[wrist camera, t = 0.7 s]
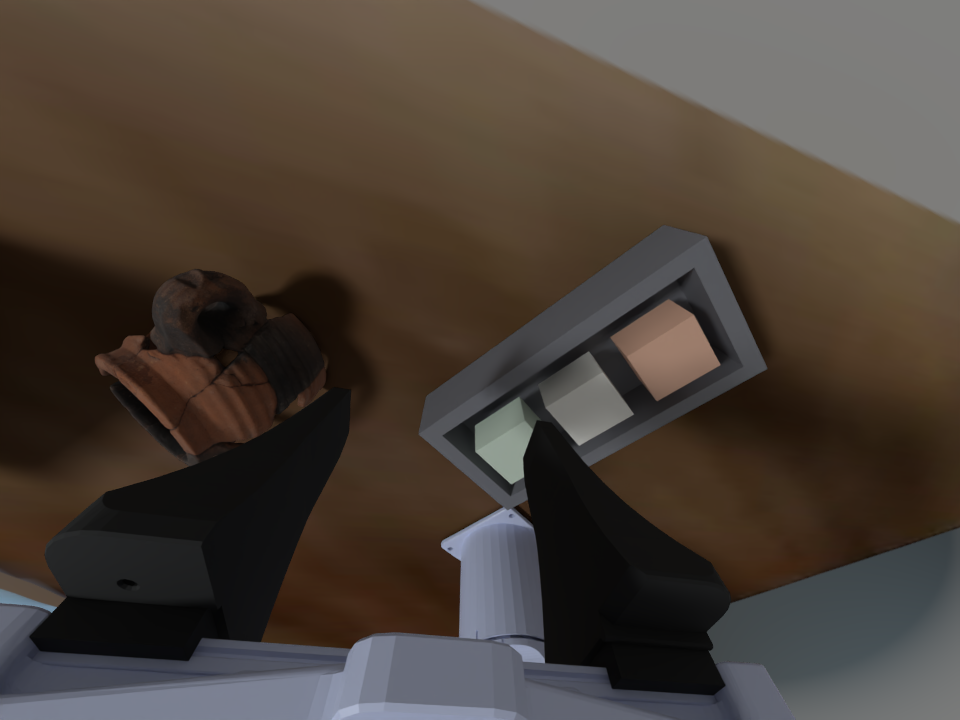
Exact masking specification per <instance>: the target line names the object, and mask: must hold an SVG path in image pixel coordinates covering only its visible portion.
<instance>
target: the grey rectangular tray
mask: <svg viewBox="0 0 960 720" xmlns="http://www.w3.org/2000/svg"><path fill="white" fill-rule="evenodd" d="M668 299H669V300H671V301H673V302H674V303H676V304H677V305H679V306H681V307H682V308H684V309H685V310H687V311H689V312H690V313H692V314H693V315H694V316H695V318H696V320H697V322H698V324H699V325H700V327H701V329H702V331H703V333H704V335H705V337H706V339H707V340H708V342H709V344H710V346H711V348H712V350H713V352H714V354H715V355H716V357H717V359H718V361H719V363H720V366H718V367H716V368H715V369H713V370H711V371H709V372H708V373H706V374H704V375H702V376H701V377H699V378H697V379H695V380H694V381H692V382H690V383H688V384H687V385H685V386H683V387H681V388H680V389H678V390H676V391H674V392H673V393H671V394H669V395H667V396H666V397H664V398H662V399H660V400H658V401H656V400H655V398H654V397H653V396H652V395H651V393H650V392H649V391H648V390H647V389H646V387H645V386H644V385H643V384H642V382H641V381H640V380H639V379H638V377H637V376H636V374H635V373H634V372H633V370H632V369H631V367H630V366H629V364H628V363H627V361H626V360H625V358H624V357H623V355H622V354H621V353H620V351H619V350H618V348H617V347H616V345H615V344H614V342H613V341H612V339H611V338H610V337H611V336H613V335H614V334H616V333H617V332H619V331H621V330H622V329H624V328H625V327H627V326H628V325H630V324H631V323H633V322H634V321H636V320H637V319H639V318H640V317H642V316H643V315H645V314H647V313H648V312H650V311H651V310H653V309H654V308H656V307H657V306H659V305H660V304H662V303H663V302H665V301H666V300H668ZM588 351H589V352H590V353H591V355H592V356H593V357H594V359H595V360H596V362H597V363H598V364H599V366H600V367H601V368H602V370H603V371H604V372H605V374H606V375H607V377H608V378H609V379H610V381H611V382H612V383H613V385H614V386H615V387H616V389H617V390H618V392H619V393H620V395H621V396H622V397H623V399H624V400H625V402H626V403H627V405H628V406H629V408H630V409H631V411H632V412H633V414H634V415H632V416H630V417H629V418H627V419H625V420H623V421H622V422H620V423H618V424H616V425H615V426H613V427H611V428H609V429H608V430H606V431H604V432H602V433H601V434H599V435H597V436H595V437H594V438H592V439H590V440H588V441H587V442H585V443H583V444H581V445H580V446H579V445H578V444H577V443H576V442H575V441H574V439H573V438H572V437H571V436H570V435H569V434H568V433H567V431H566V430H565V429H564V428H563V427H562V426H561V425H560V424H559V422H558V421H557V420H556V419H555V418H554V417H553V416H552V415H551V413H550V412H549V411H548V410H547V409H546V408H545V405H544V402H543V398H542V395H541V392H540V389H539V386H538V384H539V383H541V382H543V381H544V380H546V379H547V378H549V377H550V376H552V375H553V374H555V373H556V372H558V371H559V370H561V369H562V368H564V367H565V366H567V365H569V364H570V363H572V362H573V361H575V360H576V359H578V358H579V357H581V356H582V355H584V354H585V353H587V352H588ZM766 369H767V366H766V364H765V362H764V360H763V358H762V356H761V353H760V351H759V349H758V347H757V345H756V342H755V340H754V338H753V336H752V334H751V332H750V329H749V327H748V325H747V323H746V321H745V318H744V316H743V314H742V312H741V310H740V308H739V305H738V303H737V301H736V299H735V297H734V294H733V292H732V290H731V288H730V286H729V283H728V281H727V279H726V277H725V275H724V273H723V270H722V268H721V266H720V264H719V262H718V259H717V257H716V255H715V253H714V251H713V249H712V246H711V244H710V242H709V240H708V238H707V236H704V235H700V234H696V233H692V232H688V231H684V230H681V229H677V228H673V227H669V226H665V225H663V226H662V227H660V228H659V229H657V230H656V231H655V232H653V233H652V234H650V235H649V236H648V237H646V238H645V239H644V240H642V241H641V242H639V243H638V244H637V245H635V246H634V247H632V248H631V249H630V250H628V251H627V252H626V253H624V254H623V255H621V256H620V257H619V258H617V259H616V260H614V261H613V262H612V263H610V264H609V265H608V266H606V267H605V268H603V269H602V270H601V271H599V272H598V273H596V274H595V275H594V276H592V277H591V278H590V279H588V280H587V281H585V282H584V283H583V284H581V285H580V286H578V287H577V288H576V289H574V290H573V291H571V292H570V293H569V294H567V295H566V296H565V297H563V298H562V299H560V300H559V301H558V302H556V303H555V304H553V305H552V306H551V307H549V308H548V309H547V310H545V311H544V312H542V313H541V314H540V315H538V316H537V317H535V318H534V319H533V320H531V321H530V322H529V323H527V324H526V325H524V326H523V327H522V328H520V329H519V330H517V331H516V332H515V333H513V334H512V335H511V336H509V337H508V338H506V339H505V340H504V341H502V342H501V343H499V344H498V345H497V346H495V347H494V348H493V349H491V350H490V351H488V352H487V353H486V354H484V355H483V356H481V357H480V358H479V359H477V360H476V361H474V362H473V363H472V364H470V365H469V366H468V367H466V368H465V369H463V370H462V371H461V372H459V373H458V374H456V375H455V376H454V377H452V378H451V379H450V380H448V381H447V382H445V383H444V384H443V385H441V386H440V387H438V388H437V389H436V390H434V391H433V392H432V393H430V394H429V395H427V396H426V400H425V405H424V410H423V415H422V420H421V424H420V429H419V435H420V436H421V437H423V438H424V439H425V440H426V441H427V442H428V443H430V444H431V445H432V446H433V447H434V448H435V449H437V450H438V451H439V452H440V453H441V454H442V455H444V456H445V457H446V458H447V459H448V460H449V461H451V462H452V463H453V464H454V465H455V466H456V467H458V468H459V469H460V470H461V471H462V472H463V473H464V474H466V475H467V476H468V477H469V478H470V479H471V480H473V481H474V482H475V483H476V484H477V485H478V486H480V487H481V488H482V489H483V490H484V491H485V492H487V493H488V494H489V495H490V496H491V497H492V498H494V499H495V500H496V501H497V502H498V503H499V504H501V505H502V506H503V507H504V508H505V509H506V510H509V509H511V508H513V507H515V506H517V505H519V504H520V503H522V502H524V501H526V500H528V498H527V493H526V488H525V482H524V477H523V478H522V479H520V480H518V481H516V482H515V483H513V484H510V483H509V482H508V481H507V480H506V479H505V478H504V477H503V476H502V475H500V474H499V473H498V472H497V471H496V470H495V469H494V468H493V467H492V466H491V465H489V464H488V463H487V462H486V461H485V460H484V459H483V458H482V457H481V456H480V455H479V454H477V453H476V452H475V425H477V424H478V423H480V422H481V421H483V420H484V419H486V418H487V417H489V416H490V415H492V414H494V413H495V412H497V411H498V410H500V409H501V408H503V407H504V406H506V405H507V404H509V403H510V402H512V401H513V400H515V399H516V398H518V397H520V398H521V399H522V400H523V401H524V402H525V403H526V404H527V405H528V406H529V407H530V409H531V410H532V411H533V412H534V413H535V414H536V415H537V416H538V417H539V418H540V420H541V421H546V422H552V423H553V425H554V426H555V427H556V428H557V429H558V431H559V432H560V433H561V434H562V436H563V437H564V438H565V439H566V440H567V442H568V443H569V444H570V445H571V447H572V448H573V449H574V450H575V452H576V453H577V454H578V455H579V456H580V457H581V459H582V460H583V461H584V462H585V463H586V464H587V465H588V466H590V465H592V464H594V463H596V462H597V461H599V460H601V459H603V458H605V457H607V456H609V455H610V454H612V453H614V452H616V451H618V450H620V449H621V448H623V447H625V446H627V445H629V444H631V443H632V442H634V441H636V440H638V439H640V438H642V437H643V436H645V435H647V434H649V433H651V432H653V431H654V430H656V429H658V428H660V427H662V426H664V425H665V424H667V423H669V422H671V421H673V420H675V419H676V418H678V417H680V416H682V415H684V414H686V413H687V412H689V411H691V410H693V409H695V408H697V407H698V406H700V405H702V404H704V403H706V402H708V401H709V400H711V399H713V398H715V397H717V396H719V395H720V394H722V393H724V392H726V391H728V390H730V389H731V388H733V387H735V386H737V385H739V384H741V383H742V382H744V381H746V380H748V379H750V378H752V377H753V376H755V375H757V374H759V373H761V372H763V371H764V370H766Z"/></svg>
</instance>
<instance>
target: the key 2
mask: <svg viewBox="0 0 960 720" xmlns="http://www.w3.org/2000/svg"><path fill="white" fill-rule="evenodd" d="M610 338H611V339H612V341H613V342H614V344H615V345H616V347H617V348H618V350H619V351H620V353H621V354H622V355H623V357H624V358H625V360H626V361H627V363H628V364H629V366H630V367H631V369H632V370H633V372H634V373H635V374H636V376H637V377H638V379H639V380H640V381H641V382H642V384H643V385H644V386H645V387H646V389H647V390H648V391H649V392H650V393H651V395H652V396H653V397H654V398H655V400H656V401H658V400H660V399H662V398H664V397H666V396H667V395H669V394H671V393H673V392H674V391H676V390H678V389H680V388H681V387H683V386H685V385H687V384H688V383H690V382H692V381H694V380H695V379H697V378H699V377H701V376H702V375H704V374H706V373H708V372H709V371H711V370H713V369H715V368H716V367H718V366H720V363H719V361H718V359H717V357H716V355H715V354H714V352H713V350H712V348H711V346H710V344H709V342H708V340H707V339H706V337H705V335H704V333H703V331H702V329H701V327H700V325H699V324H698V322H697V320H696V318H695V316H694V315H693V314H692V313H690V312H689V311H687V310H685V309H684V308H682V307H681V306H679V305H677V304H676V303H674V302H673V301H671V300H669V299H668V300H666V301H665V302H663V303H662V304H660V305H659V306H657V307H656V308H654V309H653V310H651V311H650V312H648V313H647V314H645V315H643V316H642V317H640V318H639V319H637V320H636V321H634V322H633V323H631V324H630V325H628V326H627V327H625V328H624V329H622V330H621V331H619V332H617V333H616V334H614V335H613V336H611V337H610Z"/></svg>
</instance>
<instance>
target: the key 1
mask: <svg viewBox="0 0 960 720" xmlns="http://www.w3.org/2000/svg"><path fill="white" fill-rule="evenodd" d="M537 420H540V418H539V417H538V416H537V415H536V414H535V413H534V412H533V411H532V410H531V409H530V407H529V406H528V405H527V404H526V403H525V402H524V401H523V400H522V399H521V398H520V397H518V398H516V399H515V400H513V401H512V402H510V403H509V404H507V405H506V406H504V407H503V408H501V409H500V410H498V411H497V412H495V413H494V414H492V415H490V416H489V417H487V418H486V419H484V420H483V421H481V422H480V423H478V424H477V425H475V452H476V453H477V454H479V455H480V456H481V457H482V458H483V459H484V460H485V461H486V462H487V463H488V464H489V465H491V466H492V467H493V468H494V469H495V470H496V471H497V472H498V473H499V474H500V475H502V476H503V477H504V478H505V479H506V480H507V481H508V482H509V483H510V484H513V483H515V482H516V481H518V480H520V479H522V478H523V477H524V470H523V456H524V454H525V451H526V448H527V445H528V443H529V440H530V437H531V434H532V432H533V429H534V426H535V424H536V421H537ZM540 421H541V420H540Z"/></svg>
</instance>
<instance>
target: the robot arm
mask: <svg viewBox="0 0 960 720" xmlns="http://www.w3.org/2000/svg"><path fill="white" fill-rule="evenodd" d="M350 400H351V390H349V389H343V388H336V387H334V388H332V389H331V390H329V391H328V392H326V393H325V394H323V395H322V396H321V397H319V398H318V399H317V400H315V401H314V402H312V403H311V404H309V405H308V406H307V407H305V408H304V409H302V410H301V411H299V412H298V413H296V414H295V415H293V416H292V417H290V418H289V419H287V420H285V421H284V422H282V423H281V424H279V425H277V426H276V427H274V428H272V429H271V430H269V431H267V432H265V433H264V434H262V435H260V436H258V437H256V438H254V439H252V440H250V441H248V442H246V443H244V444H242V445H240V446H238V447H236V448H233V449H231V450H229V451H226V452H224V453H222V454H219V455H217V456H215V457H212V458H210V459H208V460H205V461H203V462H200V463H197V464H195V465H192V466H189V467H187V468H184V469H181V470H178V471H175V472H172V473H169V474H166V475H163V476H160V477H157V478H154V479H150V480H147V481H143V482H140V483H136V484H133V485H129V486H126V487H123V488H119V489H115V490H112V491H108V492H106V493H105V494H103V495H102V496H101V497H100V498H98V499H97V500H96V501H95V502H94V503H92V504H91V505H90V506H89V507H88V508H87V509H85V510H84V511H83V512H82V513H81V514H80V515H78V516H77V517H76V518H75V519H74V520H73V521H72V522H70V523H69V524H68V525H67V526H66V527H65V528H64V529H62V530H61V531H60V532H59V533H58V534H57V535H56V536H54V537H53V538H52V539H51V540H50V541H49V543H48V544H47V545H46V550H45V559H46V561H47V564H48V567H49V568H50V570H51V572H52V573H53V575H54V576H55V578H56V580H57V581H58V583H59V585H60V586H61V588H62V589H63V591H64V593H65V594H66V596H67V598H66V599H65V600H64V601H63V602H62V603H61V604H60V605H59V606H58V607H57V608H56V609H55V610H54V611H53V612H52V613H51V612H50V611H48V610H45V609H43V608H40V607H35V606H27V605H15V604H2V603H0V720H796V719H795V717H794V716H793V714H792V712H791V711H790V709H789V707H788V706H787V704H786V702H785V701H784V699H783V698H782V696H781V694H780V692H779V691H778V689H777V688H776V686H775V684H774V682H773V681H772V679H771V677H770V676H769V674H768V672H767V671H766V669H765V667H764V666H763V665H761V664H757V663H744V662H731V661H729V662H720V663H717V664H715V663H714V661H713V659H712V657H711V655H710V653H709V651H710V650H712V649H713V644H712V642H711V640H710V638H709V636H708V634H707V631H708V630H709V629H710V628H711V627H712V626H713V625H714V624H715V623H716V622H717V621H718V620H719V619H720V618H721V617H722V616H723V615H724V614H725V613H726V611H727V610H728V608H729V605H730V601H731V597H730V593H729V591H728V590H727V588H726V586H725V585H724V583H723V581H722V580H721V578H720V577H719V575H718V573H717V572H716V570H715V569H714V567H713V565H712V564H711V562H709V561H707V560H706V559H704V558H703V557H701V556H699V555H698V554H696V553H694V552H693V551H691V550H690V549H688V548H686V547H685V546H683V545H681V544H680V543H678V542H677V541H675V540H674V539H672V538H671V537H669V536H668V535H667V534H665V533H664V532H662V531H661V530H659V529H658V528H657V527H655V526H654V525H653V524H651V523H650V522H649V521H647V520H646V519H645V518H643V517H642V516H641V515H640V514H638V513H637V512H636V511H635V510H633V509H632V508H631V507H630V506H629V505H627V504H626V503H625V502H624V501H623V500H622V499H620V498H619V497H618V496H617V495H616V494H615V493H614V492H613V491H612V490H611V489H610V488H609V487H608V486H607V485H606V484H605V483H603V482H602V480H601V479H600V478H599V477H598V476H597V475H596V474H595V473H594V472H593V471H592V470H591V469H590V468H589V467H588V465H587V464H586V463H585V462H584V461H583V460H582V459H581V457H580V456H579V455H578V454H577V453H576V452H575V450H574V449H573V448H572V447H571V445H570V444H569V443H568V442H567V440H566V439H565V438H564V437H563V436H562V434H561V433H560V432H559V431H558V429H557V428H556V427H555V426H554V425H553V423H552V422H546V421H540V420H537V421H536V424H535V426H534V429H533V432H532V434H531V437H530V440H529V443H528V445H527V448H526V451H525V454H524V456H523V470H524V482H525V488H526V493H527V498H528V503H529V508H530V513H531V518H532V522H533V524H531V523H530V522H529V521H528V520H527V519H526V518H525V517H523V516H522V515H521V514H520V513H519V512H518V511H517V510H515V509H514V508H511V509H509V510H506V509H505V508H504V507H503V508H501V509H499V510H497V511H495V512H494V513H492V514H490V515H488V516H486V517H485V518H483V519H481V520H479V521H477V522H475V523H474V524H472V525H470V526H468V527H466V528H465V529H463V530H461V531H459V532H457V533H456V534H454V535H452V536H450V537H448V538H446V539H445V540H443V541H442V543H441V547H442V548H443V549H444V550H446V551H447V552H449V553H450V554H452V555H453V556H454V557H456V558H457V559H459V560H460V561H461V586H460V626H459V637H446V636H434V635H421V634H409V633H377V634H373V635H371V636H368V637H366V638H363V639H360V640H359V641H358V642H356V643H355V644H354V646H353V647H352V649H345V648H331V647H317V646H304V645H290V644H276V643H263V642H261V640H262V637H263V634H264V631H265V628H266V625H267V623H268V620H269V617H270V614H271V611H272V609H273V606H274V603H275V601H276V598H277V595H278V593H279V590H280V587H281V584H282V582H283V579H284V576H285V574H286V571H287V569H288V566H289V564H290V561H291V558H292V556H293V553H294V551H295V548H296V546H297V543H298V541H299V538H300V536H301V534H302V531H303V529H304V526H305V524H306V521H307V519H308V517H309V515H310V513H311V511H312V509H313V507H314V505H315V503H316V501H317V499H318V497H319V495H320V494H321V492H322V490H323V488H324V486H325V484H326V482H327V480H328V478H329V477H330V475H331V473H332V471H333V469H334V467H335V465H336V463H337V461H338V459H339V457H340V455H341V452H342V450H343V447H344V445H345V442H346V439H347V436H348V434H349V421H350ZM708 650H709V651H708Z"/></svg>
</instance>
